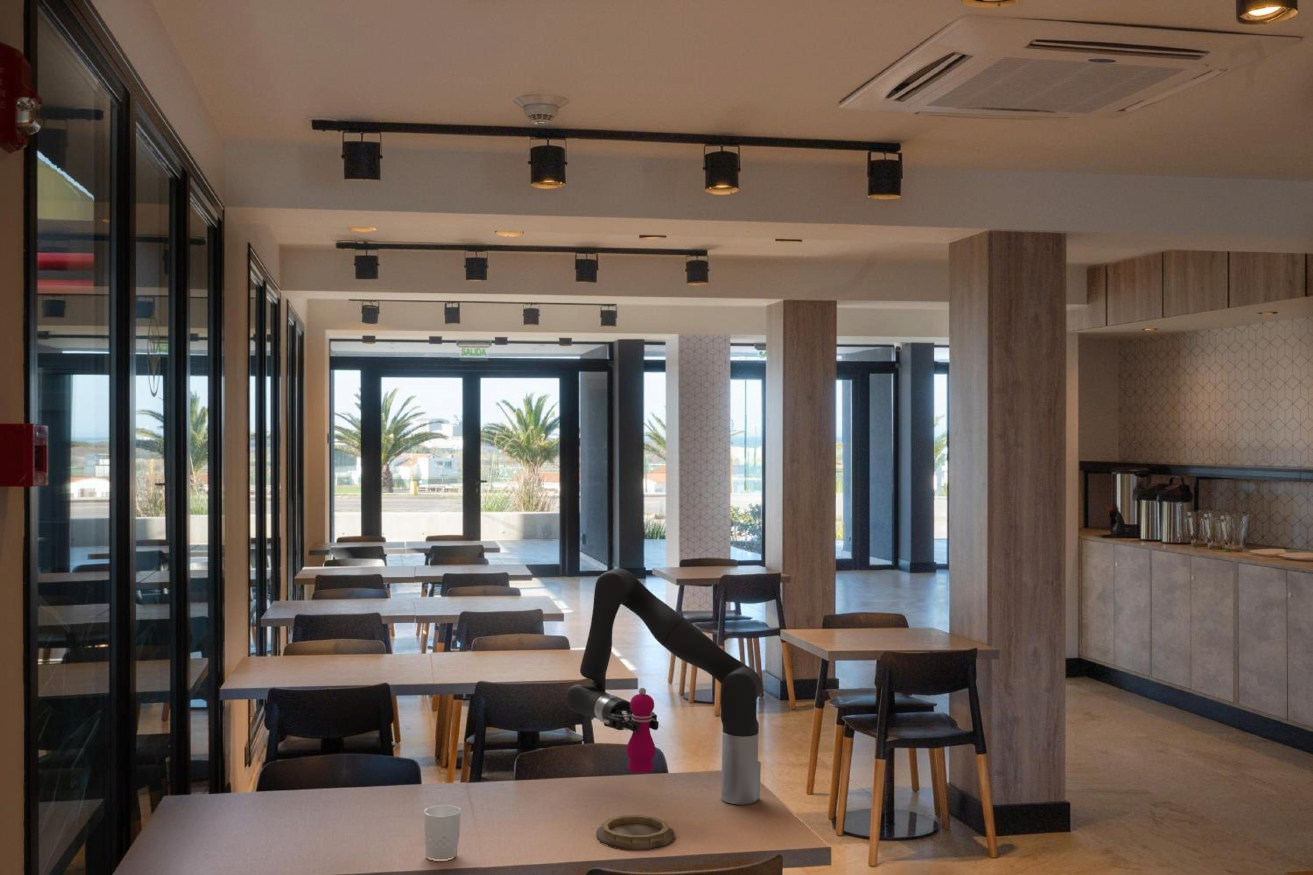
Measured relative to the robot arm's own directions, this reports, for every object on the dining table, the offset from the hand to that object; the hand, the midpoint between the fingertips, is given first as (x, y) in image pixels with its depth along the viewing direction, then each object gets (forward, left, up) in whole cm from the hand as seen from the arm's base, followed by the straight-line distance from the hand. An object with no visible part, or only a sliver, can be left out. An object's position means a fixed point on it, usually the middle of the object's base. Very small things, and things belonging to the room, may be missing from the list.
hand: (647, 726), depth 285 cm
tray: (+11, +10, -22) cm, 26 cm away
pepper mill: (0, -3, -11) cm, 12 cm away
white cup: (+53, -5, -22) cm, 58 cm away
